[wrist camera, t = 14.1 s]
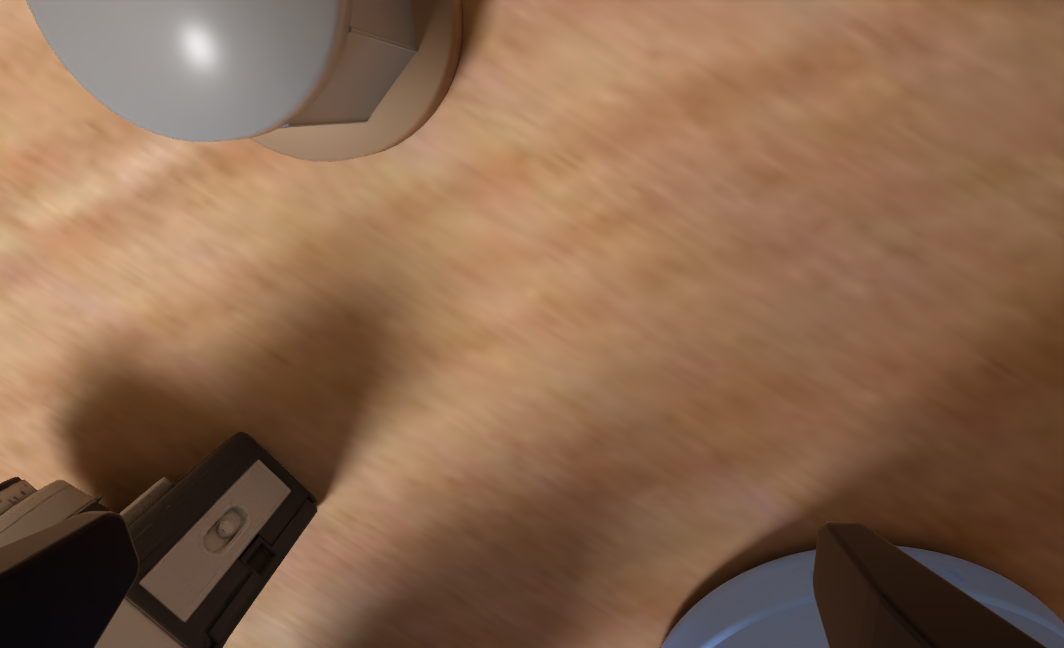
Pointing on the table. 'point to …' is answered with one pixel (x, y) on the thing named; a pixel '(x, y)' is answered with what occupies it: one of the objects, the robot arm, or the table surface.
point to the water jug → (793, 617)
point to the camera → (186, 542)
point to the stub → (389, 95)
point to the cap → (231, 60)
